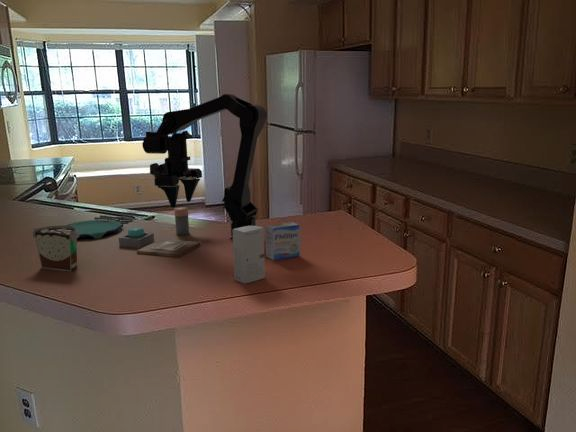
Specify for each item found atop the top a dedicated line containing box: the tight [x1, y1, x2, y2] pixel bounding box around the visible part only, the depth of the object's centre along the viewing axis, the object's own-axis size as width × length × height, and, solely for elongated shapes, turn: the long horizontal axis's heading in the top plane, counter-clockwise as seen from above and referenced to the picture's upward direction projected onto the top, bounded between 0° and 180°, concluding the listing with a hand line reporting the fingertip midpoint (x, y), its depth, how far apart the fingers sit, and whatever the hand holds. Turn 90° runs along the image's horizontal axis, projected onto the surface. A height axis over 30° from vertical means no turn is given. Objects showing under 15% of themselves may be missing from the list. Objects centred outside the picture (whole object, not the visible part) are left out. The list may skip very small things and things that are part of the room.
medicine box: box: [265, 221, 301, 262], centre depth 129 cm, size 8×4×9 cm, turn 118°
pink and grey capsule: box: [173, 206, 190, 236], centre depth 154 cm, size 4×4×8 cm
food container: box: [32, 224, 80, 272], centre depth 124 cm, size 12×6×10 cm, turn 71°
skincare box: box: [232, 225, 266, 285], centre depth 113 cm, size 6×4×12 cm
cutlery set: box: [67, 214, 139, 240], centre depth 163 cm, size 20×30×2 cm, turn 169°
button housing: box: [118, 231, 155, 249], centre depth 144 cm, size 7×7×3 cm
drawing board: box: [136, 238, 201, 258], centre depth 138 cm, size 13×12×1 cm
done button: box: [127, 227, 145, 238], centre depth 143 cm, size 4×4×2 cm
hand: (181, 204), depth 153 cm, fingers open, 9 cm apart
